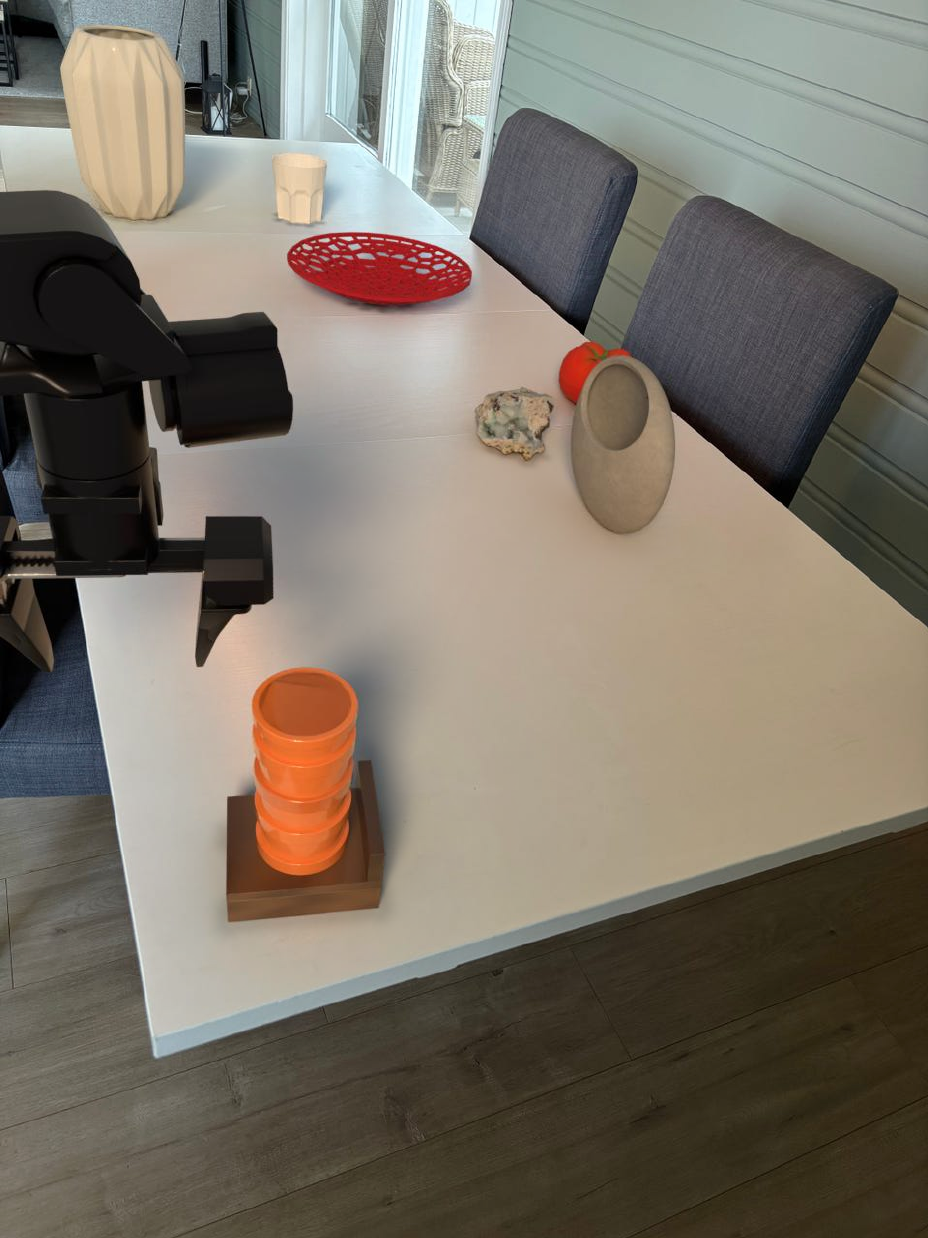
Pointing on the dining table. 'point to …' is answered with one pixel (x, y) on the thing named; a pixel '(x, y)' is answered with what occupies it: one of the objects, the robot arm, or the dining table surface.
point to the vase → (126, 118)
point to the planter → (623, 444)
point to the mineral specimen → (514, 420)
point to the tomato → (582, 366)
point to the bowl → (379, 269)
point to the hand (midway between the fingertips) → (126, 665)
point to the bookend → (331, 890)
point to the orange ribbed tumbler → (303, 768)
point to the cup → (299, 186)
